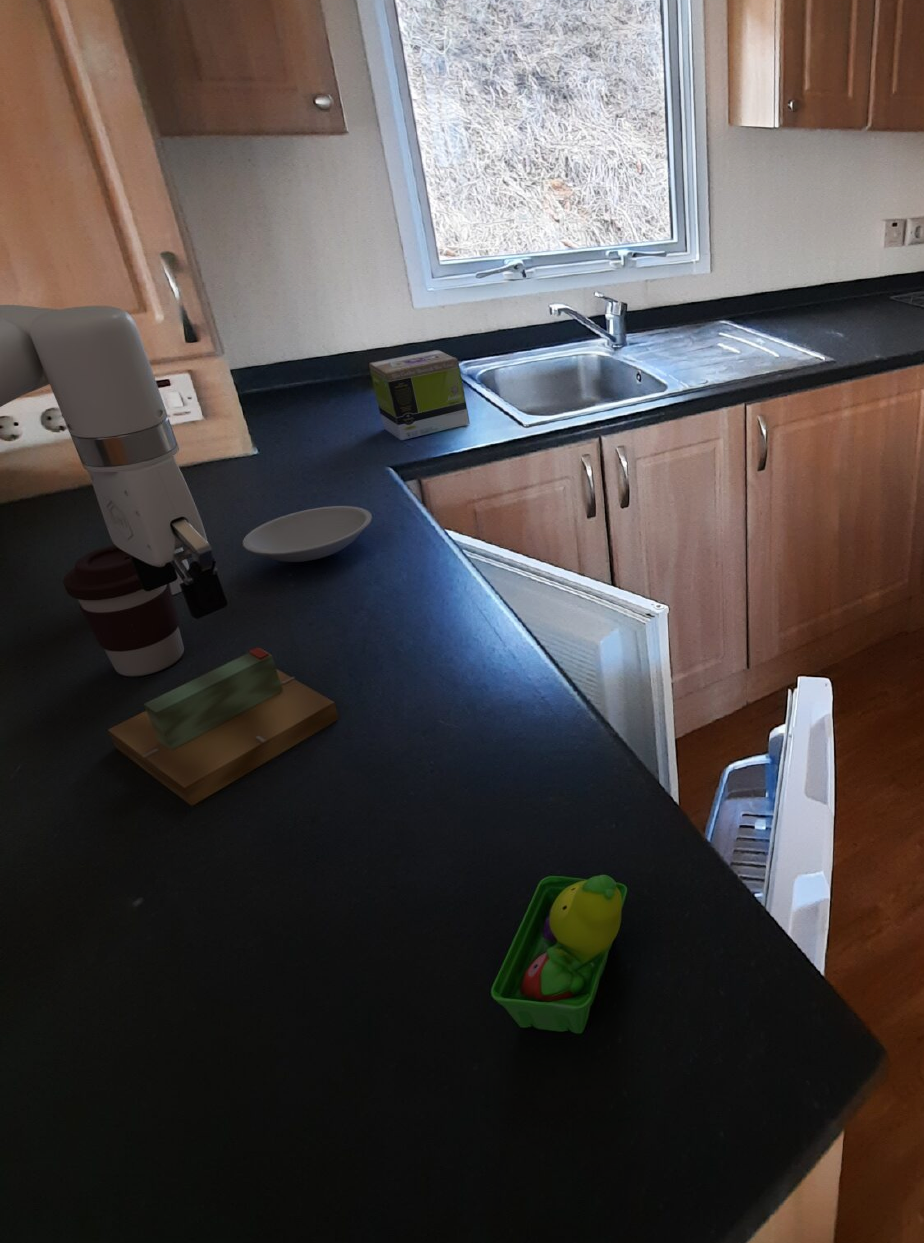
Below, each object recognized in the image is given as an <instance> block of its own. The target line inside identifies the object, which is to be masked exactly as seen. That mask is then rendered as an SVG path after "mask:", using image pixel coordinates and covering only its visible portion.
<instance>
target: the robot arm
mask: <svg viewBox="0 0 924 1243" xmlns="http://www.w3.org/2000/svg"><path fill="white" fill-rule="evenodd" d="M154 374H155V373H154V372H153V369H152V366H151V363H150V360H149V357H148V354H147V351H146V349H145V346H144V342H143V340H142V337H141V334H140V331H139V329H138V326H137V324H136V322H135V320H134V318H133V317H132V316H131V314H129V313H128V312H127V311H126V310H124V309H122V308H120V307H116V306H112V305H111V306H110V305H85V306H84V305H82V306H76V307H75V306H74V307H66V308H60V309H59V308H49V307H48V308H47V307H40V306H39V307H37V306H31V305H30V306H29V305H21V304H0V408H2V407H4V406H5V405H7V404H9V403H11V402H13V401H15V400H16V399H18V398H20V397H22V396H24V395H27V394H29V393H32V392H34V391H37V390H39V389H42V388H44V387H47V386H50V389H51V391H52V394H53V396H54V399H55V401H56V404H57V406H58V409H59V411H60V413H61V416H62V418H63V421H64V423H65V426H66V428H67V430H68V433H69V435H70V437H71V440H72V443H73V445H74V448H75V451H76V453H77V455H78V457H79V460H80V462H81V465H82V468H83V469H84V470H86V471H87V470H88V471H89V472H90V476H91V479H90V481H91V480H92V482H91V484H93V485H92V487H93V490H94V494H95V496H96V500H97V503H98V506H99V508H100V512H101V515H102V517H103V520H104V524H105V527H106V530H107V531H108V535H109V537H110V540H111V542H112V543H113V545H116V546H117V547H118V548H120V549H121V550H123V551H125V552H126V553H128V554H129V555H130V556H134V557H131V558H130V559H131V561H132V564H133V566H134V569H135V571H136V574H137V576H138V579H139V581H140V584H141V586H142V589H143V590H145V591H152V590H154V589H157V588H159V587H162V586H164V585H166V584H169V583H171V582H174V581H176V580H177V578H178V576H177V574H176V572H177V573H178V575H179V576H180V578H181V579H182V580H183V583H181V584H180V587H181V590H182V591H181V592H182V595H183V597H184V600H185V603H186V606H187V609H188V611H189V613H190V616H191V617H192V618H193V619H196V620H199V619H201V618H203V617H205V616H208V615H211V614H212V613H215V612H217V611H219V610H221V609H224V608H226V607H227V605H228V600H227V598H226V595H225V592H224V589H223V586H222V583H221V581H220V578H219V575H218V568H217V566H216V563H217V561H216V560H215V558H214V555H213V554H214V552H213V548H212V546H211V544H210V543H209V542H208V538H207V533H206V530H205V527H204V524H203V521H202V518H201V516H200V512H199V510H198V508H197V505H196V504H195V501H194V498H193V496H192V493H191V491H190V488H189V486H188V484H187V482H186V479H185V477H184V474H183V473H182V471H181V469H180V466H179V464H178V463H177V460H176V457H175V455H176V454H178V452H179V451H180V446H179V444H178V442H177V438H176V436H175V433H174V430H173V427H172V423H171V421H170V418H169V415H168V413H167V410H166V407H165V403H164V401H163V398H162V394H161V392H160V389H159V386H158V383H157V380H156V377H155V375H154ZM88 471H87V472H88ZM184 547H186V549H183V550H184V551H181V552H178V553H176V554H174V550H177V549H179V548H184ZM191 558H192V559H193V561H192V562H190V564H189V569H188V570H187V568H186V567H185V565H184V564H183V562H182V561H183V560H185V559H187V560H188V559H191ZM175 570H176V571H175Z"/></svg>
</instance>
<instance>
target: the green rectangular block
mask: <svg viewBox="0 0 924 1243" xmlns="http://www.w3.org/2000/svg"><path fill="white" fill-rule="evenodd" d="M276 669H277V667H276V664H275V661H274V657H273V655H272V654H271V653H269V652H267V651H266V650H264V649H262V648H260V647H255V648H253V649H251V650H249V651H248V653H245V654H243V655H241V656H239V657H238V658H237V657H236V658H235V659H233V660H231V661H229V662H227V663H225V664H223V665H221V666H219V667H217V668H215V669H213V670H211V671H207V672H206V673H204V674H203V675H200V676H198V677H195V678H194V679H192V680H190V681H188V682H186V683H184V684H182V685H179V686H178V687H176V688H174V689H171V690H169V691H167V692H165V693H164V694H161V695H159V696H156V697H155V698H153V699H151V700H149V701H146V702H145V703H143V706H144V708H145V711H147V714H148V716H149V719H150V721H151V723H152V726H153V728H154V731H155V733H156V736H157V738H158V741H159V742H160V743H162V744H163V745H165V746H166V747H167V748H169V749H170V750H173V749H175V748H177V747H179V746H180V745H182V744H184V743H186V742H188V741H190V740H192V739H193V738H195V737H197V736H199V735H201V734H203V733H205V732H207V731H208V730H210V729H212V728H214V727H216V726H218V725H220V724H222V723H223V722H225V721H227V720H229V719H231V718H233V717H235V716H236V715H238V714H240V713H242V712H244V711H246V710H248V709H250V708H251V707H253V706H255V705H257V704H259V703H261V702H263V701H265V700H266V699H268V698H270V697H272V696H274V695H276V694H278V693H279V692H281V691H283V689H282V686H281V683H280V680H279V676H278V673H277V670H278V669H277V670H276Z"/></svg>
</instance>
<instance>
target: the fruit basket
mask: <svg viewBox="0 0 924 1243" xmlns="http://www.w3.org/2000/svg"><path fill="white" fill-rule="evenodd" d="M627 893H628V888H627V886H626V885H625V884H623V883H621V882H616V881H615V880H614V878H612V877H611V876H609V875H607V874H600V875H594V876H592V877H590V878H581V877H569V876H563V875H561V876H559V875H548V876H545V877H544V878H543V879H541V880H540V881H539V882H538V884H537V887H536V889H535V891H534V894H533V896H532V898H531V900H530V902H529V904H528V907H527V909H526V912H525V914H524V916H523V919H522V921H521V922H520V925H519V927H518V929H517V931H516V934H515V935H514V938H513V939H512V942H511V945H510V946H509V949H508V950H507V951H508V952H507V954H506V956H505V958H504V961H503V963H502V964H501V967H500V969H499V971H498V974H497V976H496V977H495V979H494V982H493V984H492V986H491V989H490V994H491V997H492V999H493V1000H494V1001H495V1002H497V1004H499V1005H500V1006H502V1007H503V1008H504V1009H505V1010H506V1011H507V1014H509V1015H510V1017H511V1018H512V1019H513V1020H514V1021H515V1022H516V1024H517V1025H518V1027H520V1028H523V1029H524V1028H526V1029H527V1028H532V1027H533V1028H535V1029H537V1030H543V1031H552V1032H566V1031H567V1032H568V1031H569V1032H572V1033H574V1034H578V1035H579V1034H582V1033H583V1032H584V1031H585V1028H586V1025H587V1022H588V1019H589V1016H590V1011H591V1006H592V1005H593V1003H594V1001H595V998H596V994H597V992H598V989H599V984H600V980H601V977H602V976H603V973H604V970H605V967H606V964H607V962H608V957H609V952H610V950H611V949H612V946H613V943H614V940H615V939H616V937H617V935H618V933H619V931H620V927H621V923H622V911H623V907H624V904H625V900H626V897H627Z"/></svg>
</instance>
